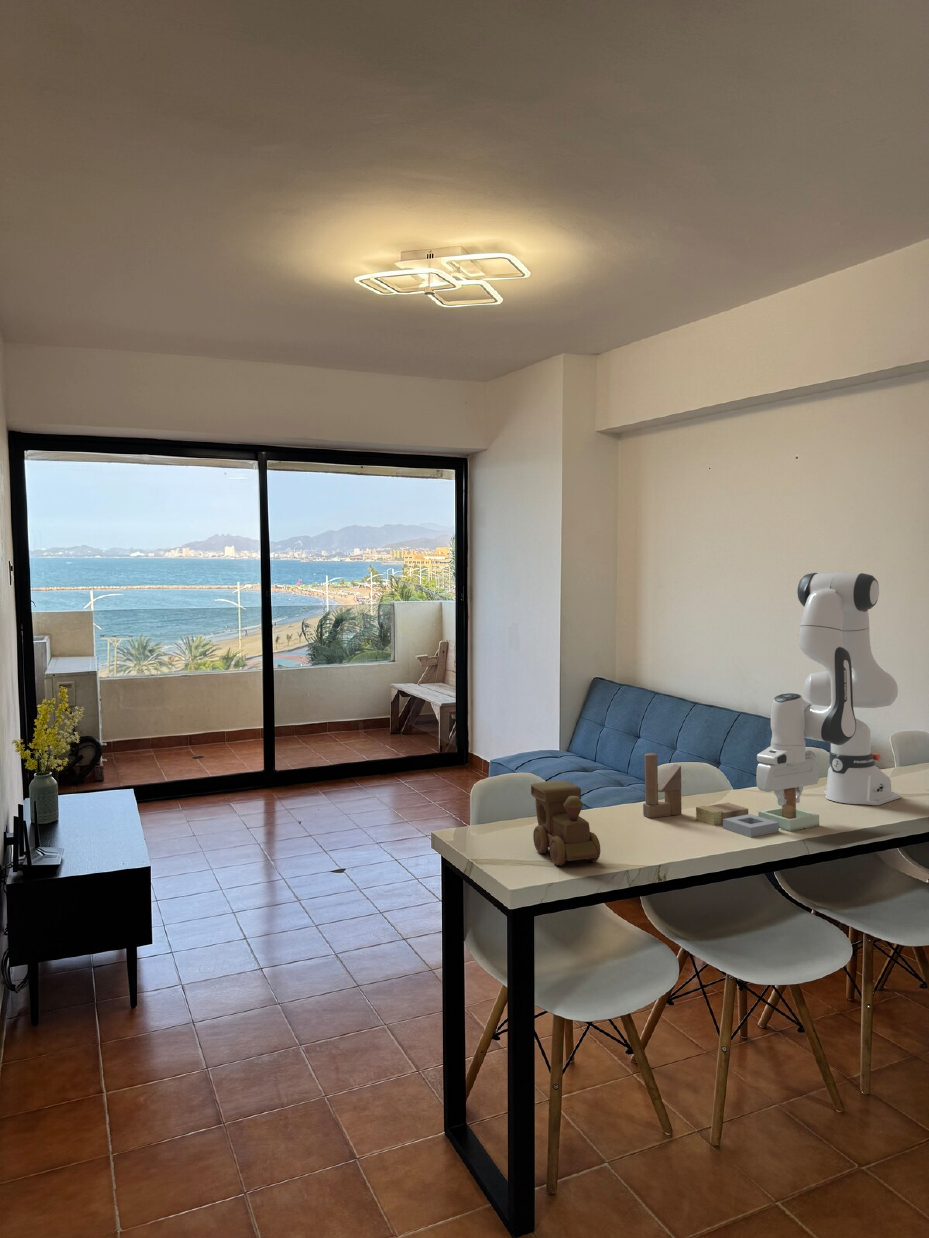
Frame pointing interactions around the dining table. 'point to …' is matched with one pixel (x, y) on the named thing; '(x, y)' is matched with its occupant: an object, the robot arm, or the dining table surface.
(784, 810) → the dowel
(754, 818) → the socket block
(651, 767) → the wooden block
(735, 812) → the brown flat block
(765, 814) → the tray
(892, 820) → the dining table surface
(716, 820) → the olive green block
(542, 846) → the wooden toy train
